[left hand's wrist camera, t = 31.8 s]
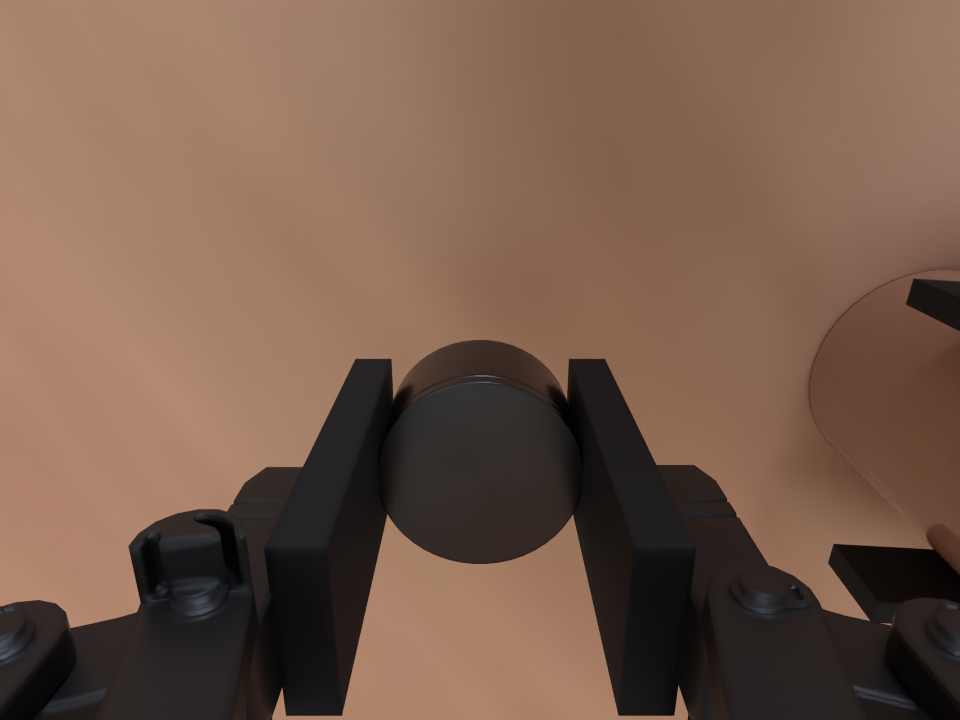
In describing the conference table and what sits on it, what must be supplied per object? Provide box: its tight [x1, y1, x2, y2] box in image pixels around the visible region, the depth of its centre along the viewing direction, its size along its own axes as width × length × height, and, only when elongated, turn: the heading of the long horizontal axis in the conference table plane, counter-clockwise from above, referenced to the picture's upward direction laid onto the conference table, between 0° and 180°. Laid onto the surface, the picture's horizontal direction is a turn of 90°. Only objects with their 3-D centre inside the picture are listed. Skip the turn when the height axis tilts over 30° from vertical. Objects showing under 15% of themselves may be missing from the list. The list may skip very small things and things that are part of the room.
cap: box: [378, 340, 583, 564], centre depth 14 cm, size 4×4×2 cm
